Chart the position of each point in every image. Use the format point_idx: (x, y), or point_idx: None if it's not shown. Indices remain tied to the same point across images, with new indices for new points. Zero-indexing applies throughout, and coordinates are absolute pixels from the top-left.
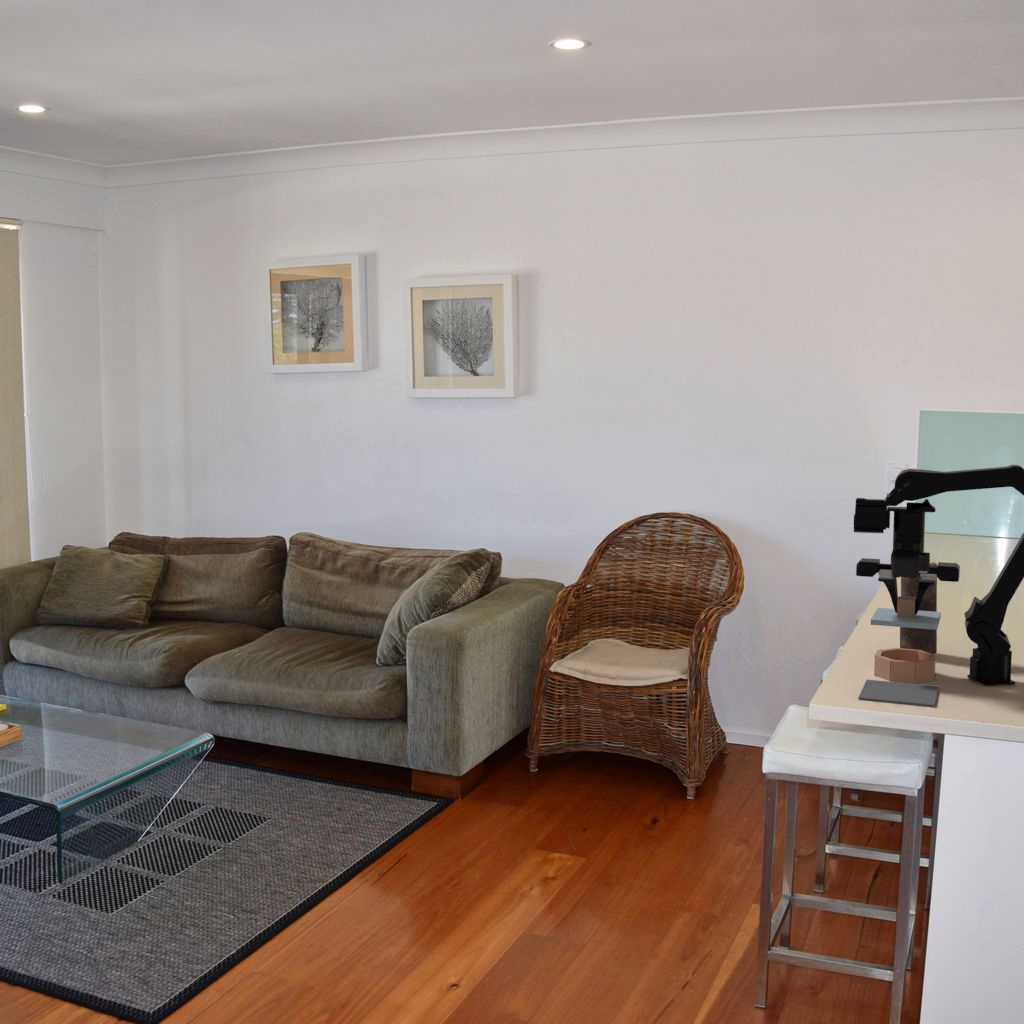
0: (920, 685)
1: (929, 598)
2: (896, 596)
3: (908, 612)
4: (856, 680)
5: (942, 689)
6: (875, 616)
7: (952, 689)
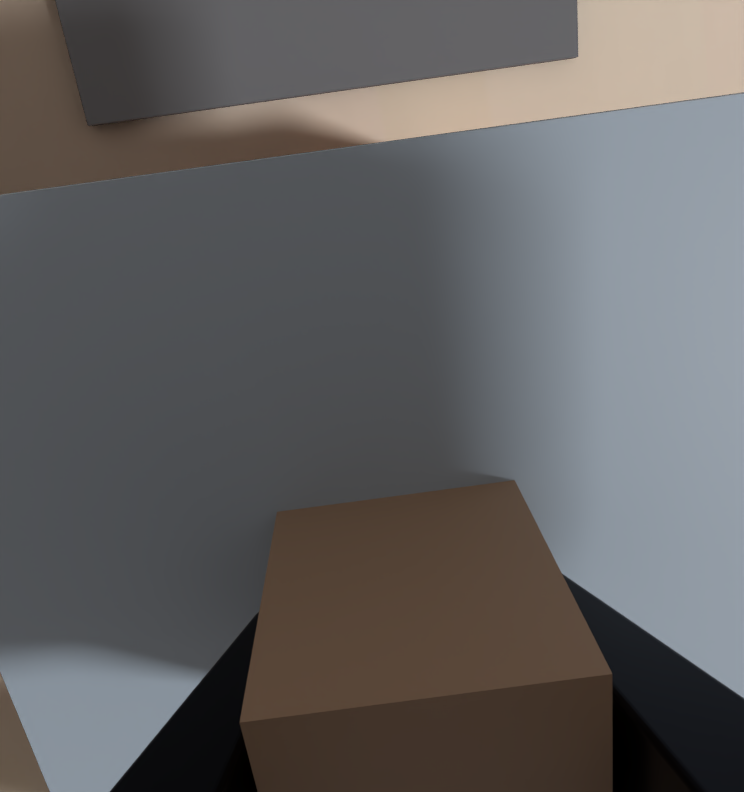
0: (200, 77)
1: None
2: (659, 764)
3: (359, 541)
4: (643, 58)
5: (62, 111)
6: None
7: (6, 146)
